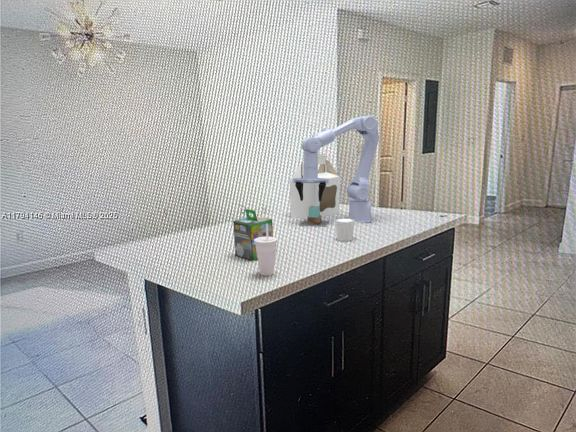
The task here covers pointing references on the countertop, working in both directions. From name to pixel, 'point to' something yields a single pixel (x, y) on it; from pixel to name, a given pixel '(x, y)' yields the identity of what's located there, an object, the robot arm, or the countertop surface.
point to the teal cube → (314, 211)
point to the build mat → (323, 224)
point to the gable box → (315, 191)
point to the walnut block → (314, 220)
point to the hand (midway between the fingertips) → (310, 200)
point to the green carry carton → (250, 234)
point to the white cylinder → (344, 229)
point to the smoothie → (266, 253)
